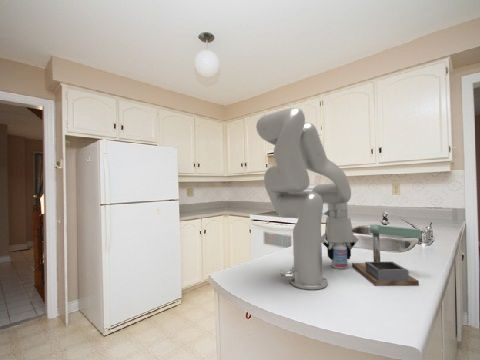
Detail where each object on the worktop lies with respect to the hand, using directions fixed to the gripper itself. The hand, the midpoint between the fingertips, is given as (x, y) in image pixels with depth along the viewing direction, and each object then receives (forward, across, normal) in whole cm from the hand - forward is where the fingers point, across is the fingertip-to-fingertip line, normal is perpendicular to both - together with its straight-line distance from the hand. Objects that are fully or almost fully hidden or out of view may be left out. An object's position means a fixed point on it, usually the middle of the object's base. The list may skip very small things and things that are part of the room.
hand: (339, 258), depth 106 cm
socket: (+2, +11, -15) cm, 19 cm away
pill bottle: (+4, 0, 0) cm, 4 cm away
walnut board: (+4, +12, -10) cm, 16 cm away
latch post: (+2, +14, -2) cm, 14 cm away
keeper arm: (-10, +18, -7) cm, 22 cm away
